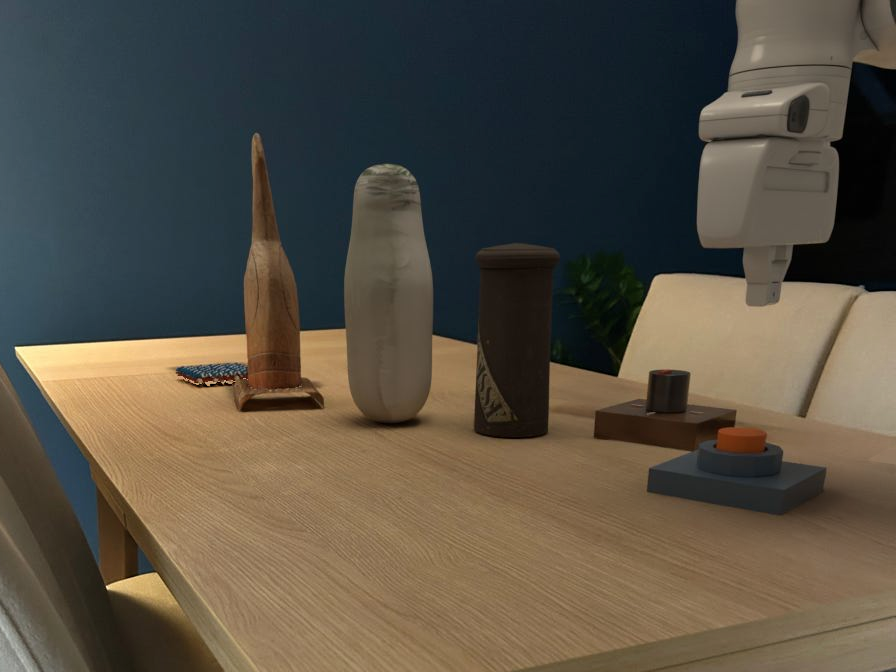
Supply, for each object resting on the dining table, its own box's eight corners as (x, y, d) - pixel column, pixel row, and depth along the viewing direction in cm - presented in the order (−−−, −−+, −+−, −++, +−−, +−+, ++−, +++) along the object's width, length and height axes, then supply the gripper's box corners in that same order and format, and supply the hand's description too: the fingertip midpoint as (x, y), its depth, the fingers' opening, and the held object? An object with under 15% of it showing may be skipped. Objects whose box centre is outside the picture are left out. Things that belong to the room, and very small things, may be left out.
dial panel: (733, 437, 108) (737, 408, 107) (693, 452, 101) (697, 421, 100) (636, 424, 115) (638, 397, 114) (593, 437, 108) (595, 408, 107)
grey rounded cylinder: (442, 426, 114) (443, 161, 103) (356, 431, 112) (348, 160, 101) (421, 412, 123) (420, 166, 112) (341, 416, 120) (332, 166, 109)
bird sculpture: (312, 394, 136) (300, 138, 123) (327, 408, 125) (316, 130, 113) (231, 398, 133) (211, 136, 120) (240, 413, 123) (219, 128, 110)
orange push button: (771, 451, 85) (774, 430, 84) (753, 458, 82) (755, 438, 81) (727, 444, 87) (729, 425, 86) (708, 452, 84) (710, 432, 83)
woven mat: (264, 382, 146) (263, 369, 145) (196, 388, 141) (195, 374, 140) (239, 374, 154) (238, 361, 154) (174, 379, 149) (173, 366, 149)
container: (478, 423, 116) (482, 242, 108) (553, 425, 114) (563, 242, 106) (466, 437, 108) (470, 243, 100) (547, 440, 106) (557, 244, 99)
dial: (657, 404, 110) (661, 365, 108) (693, 409, 107) (698, 368, 105) (638, 410, 106) (641, 369, 105) (675, 414, 104) (679, 373, 102)
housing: (822, 491, 86) (830, 447, 84) (780, 516, 79) (787, 467, 77) (696, 471, 93) (700, 430, 91) (646, 492, 86) (650, 447, 84)
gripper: (792, 128, 84) (772, 296, 90) (688, 111, 70) (672, 312, 75) (867, 123, 81) (842, 298, 86) (775, 103, 66) (751, 315, 72)
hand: (762, 305), depth 81 cm, fingers closed
